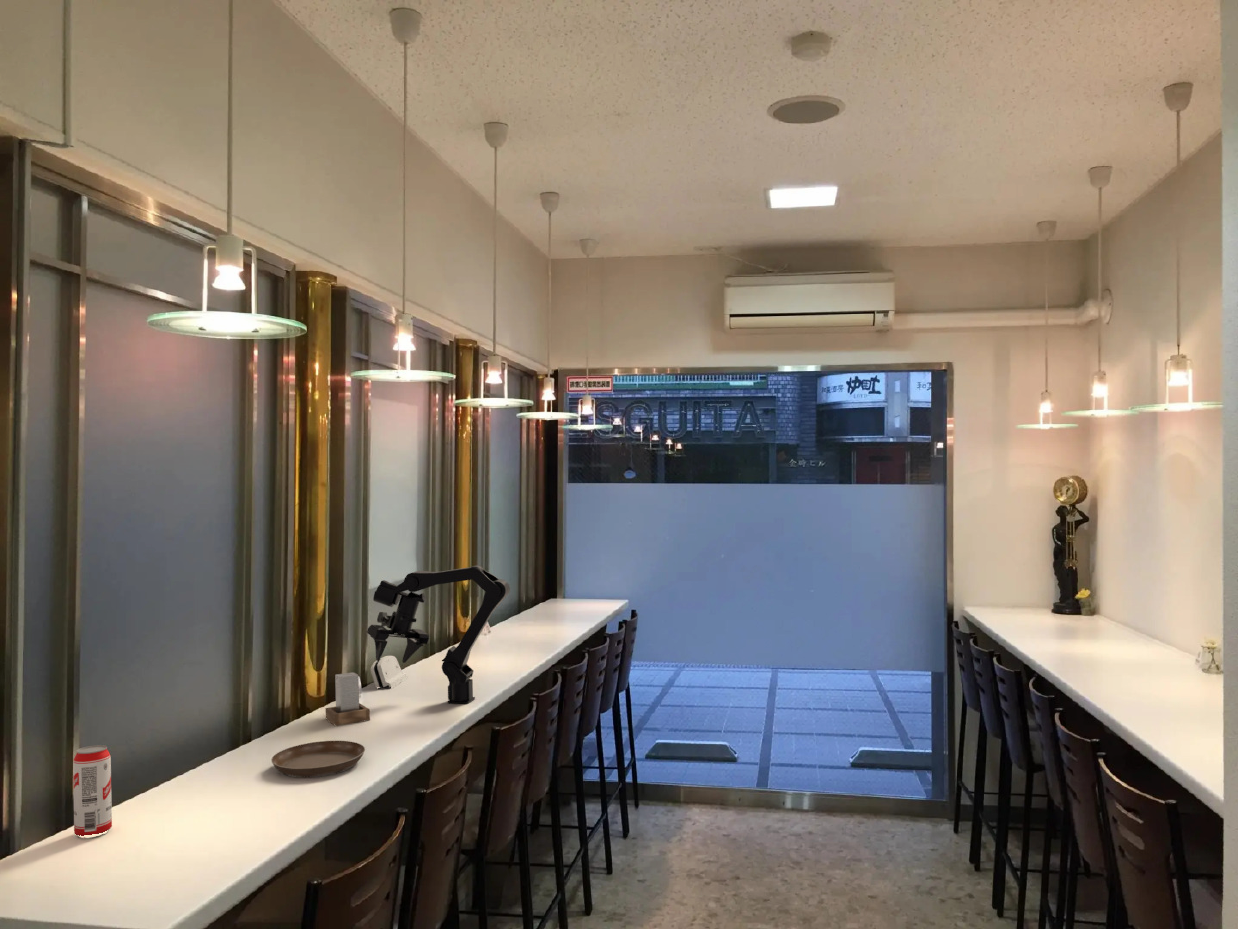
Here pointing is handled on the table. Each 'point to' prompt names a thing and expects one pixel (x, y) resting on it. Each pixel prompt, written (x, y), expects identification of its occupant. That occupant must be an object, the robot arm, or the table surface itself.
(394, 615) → the robot arm
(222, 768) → the table surface
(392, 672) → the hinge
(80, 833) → the beer can
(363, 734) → the table surface
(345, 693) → the grey block
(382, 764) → the table surface
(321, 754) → the plant saucer
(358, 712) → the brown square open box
